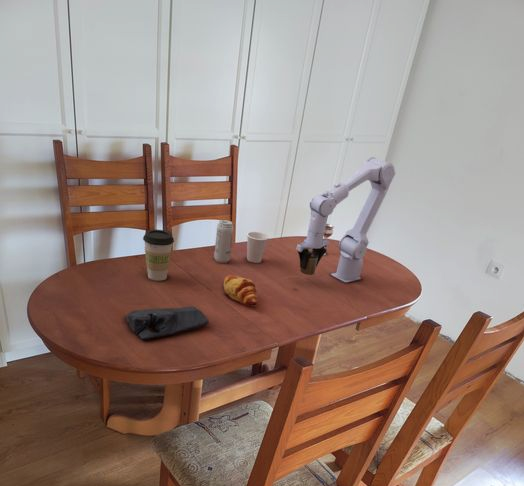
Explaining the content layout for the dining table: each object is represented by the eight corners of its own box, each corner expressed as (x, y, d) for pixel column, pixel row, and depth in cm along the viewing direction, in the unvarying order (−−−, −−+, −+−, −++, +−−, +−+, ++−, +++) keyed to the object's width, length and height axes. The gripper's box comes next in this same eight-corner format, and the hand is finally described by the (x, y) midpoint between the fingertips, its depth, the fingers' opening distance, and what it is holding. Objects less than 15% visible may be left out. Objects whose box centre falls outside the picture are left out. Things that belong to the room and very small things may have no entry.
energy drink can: (229, 264, 179) (233, 225, 171) (213, 262, 178) (217, 223, 170) (230, 258, 184) (234, 220, 176) (214, 256, 184) (218, 218, 176)
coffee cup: (136, 277, 158) (136, 233, 150) (153, 268, 166) (154, 226, 158) (161, 285, 155) (163, 242, 147) (177, 276, 163) (179, 234, 155)
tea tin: (307, 268, 177) (311, 249, 173) (317, 273, 173) (321, 255, 170) (296, 270, 173) (300, 251, 169) (307, 276, 170) (311, 257, 166)
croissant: (218, 291, 166) (209, 273, 160) (241, 277, 167) (234, 259, 162) (246, 319, 151) (238, 301, 145) (272, 303, 152) (265, 284, 147)
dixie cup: (249, 264, 182) (253, 239, 176) (240, 256, 188) (243, 231, 182) (268, 263, 186) (272, 238, 180) (258, 255, 192) (262, 231, 186)
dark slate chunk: (214, 332, 135) (215, 318, 133) (137, 343, 125) (138, 327, 122) (194, 307, 146) (195, 293, 144) (122, 315, 136) (122, 300, 133)
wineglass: (312, 248, 208) (318, 222, 201) (327, 251, 208) (333, 224, 201) (312, 254, 202) (318, 226, 196) (327, 257, 202) (334, 229, 196)
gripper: (322, 225, 172) (314, 260, 179) (293, 229, 163) (286, 265, 170) (336, 232, 168) (327, 267, 175) (307, 236, 159) (300, 273, 166)
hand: (308, 267), depth 172 cm, fingers closed on tea tin, 5 cm apart
